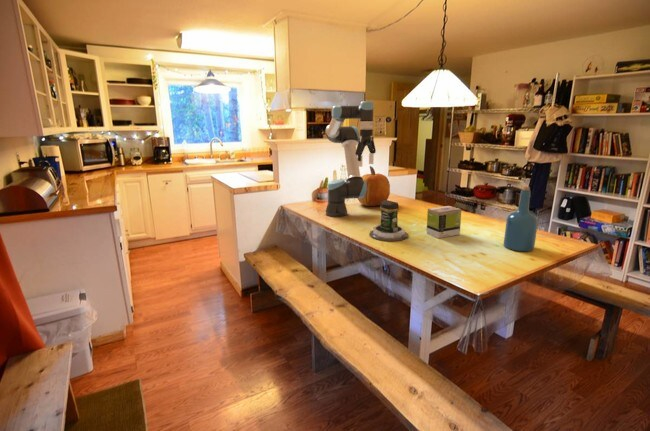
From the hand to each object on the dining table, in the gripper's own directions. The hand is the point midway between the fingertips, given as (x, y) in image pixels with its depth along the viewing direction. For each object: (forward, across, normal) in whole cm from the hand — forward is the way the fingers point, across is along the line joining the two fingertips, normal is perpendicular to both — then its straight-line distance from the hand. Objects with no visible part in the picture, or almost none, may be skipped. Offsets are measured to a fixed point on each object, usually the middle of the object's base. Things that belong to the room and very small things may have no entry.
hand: (365, 165), depth 203 cm
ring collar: (+35, -17, -25) cm, 46 cm away
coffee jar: (+34, -17, -25) cm, 46 cm away
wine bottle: (+34, 0, -86) cm, 92 cm away
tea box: (+35, +1, -49) cm, 60 cm away
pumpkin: (+37, +44, +18) cm, 60 cm away
